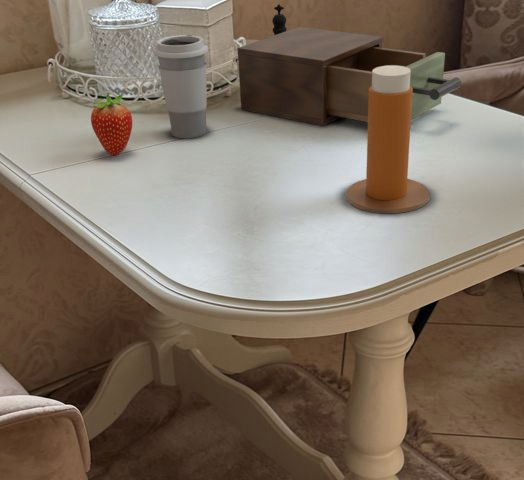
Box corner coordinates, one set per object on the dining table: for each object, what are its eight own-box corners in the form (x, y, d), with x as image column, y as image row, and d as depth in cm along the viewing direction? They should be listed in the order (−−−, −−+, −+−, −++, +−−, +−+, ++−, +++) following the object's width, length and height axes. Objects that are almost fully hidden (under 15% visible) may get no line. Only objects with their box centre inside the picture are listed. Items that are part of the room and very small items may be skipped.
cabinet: (380, 98, 116) (382, 36, 112) (323, 126, 107) (323, 60, 102) (300, 84, 124) (299, 26, 119) (241, 109, 115) (237, 47, 110)
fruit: (88, 155, 102) (77, 93, 97) (120, 144, 105) (111, 83, 100) (114, 164, 99) (104, 100, 94) (146, 152, 102) (138, 89, 97)
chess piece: (268, 64, 135) (266, 2, 129) (294, 64, 134) (293, 1, 129) (266, 72, 131) (264, 7, 126) (293, 71, 131) (291, 6, 125)
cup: (223, 127, 109) (216, 35, 102) (201, 143, 104) (192, 48, 97) (178, 122, 111) (168, 33, 105) (154, 138, 106) (142, 45, 100)
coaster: (426, 180, 90) (426, 176, 90) (432, 213, 82) (432, 209, 82) (346, 181, 91) (346, 176, 91) (345, 213, 83) (346, 209, 83)
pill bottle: (405, 184, 88) (412, 64, 81) (407, 200, 84) (414, 75, 77) (365, 184, 88) (368, 65, 81) (366, 200, 85) (369, 76, 78)
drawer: (471, 108, 108) (476, 56, 104) (422, 137, 99) (426, 82, 95) (359, 89, 117) (360, 41, 113) (306, 114, 109) (305, 63, 105)
